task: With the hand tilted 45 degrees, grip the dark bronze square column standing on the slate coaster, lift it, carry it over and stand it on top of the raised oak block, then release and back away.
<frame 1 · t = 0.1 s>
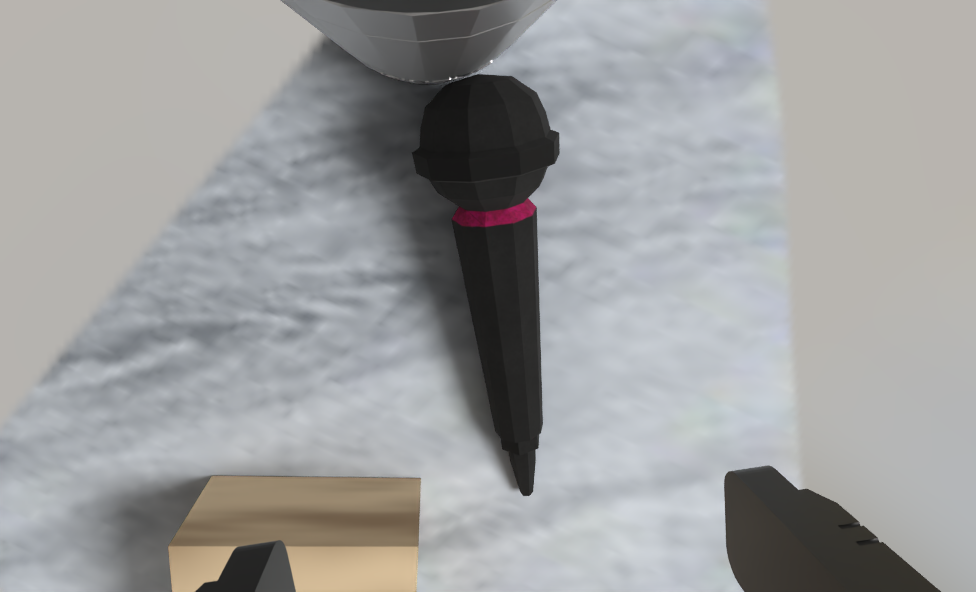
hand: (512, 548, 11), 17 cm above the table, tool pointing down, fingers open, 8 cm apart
rest block: (318, 562, 31), on the table
microphone: (486, 297, 28), on the table
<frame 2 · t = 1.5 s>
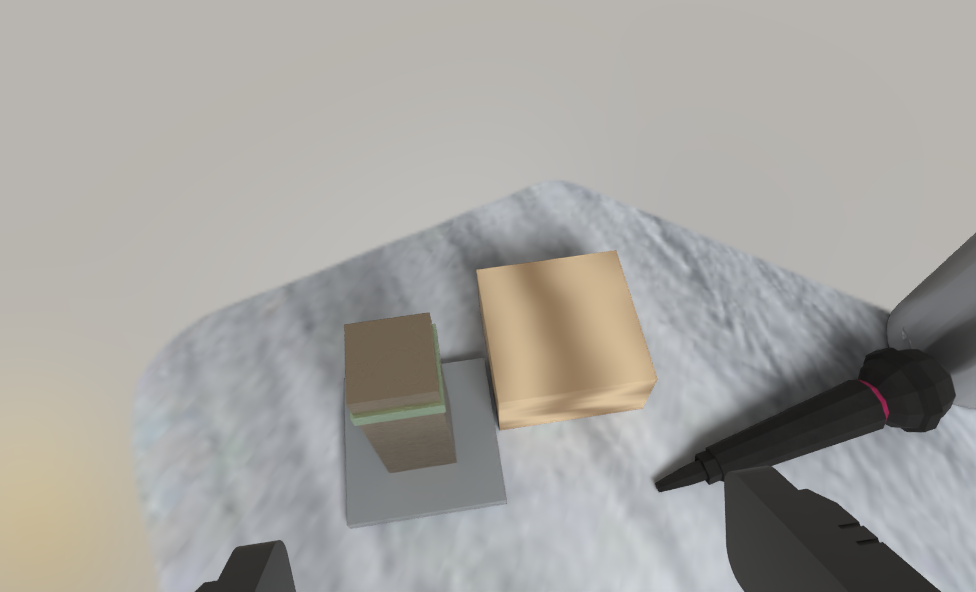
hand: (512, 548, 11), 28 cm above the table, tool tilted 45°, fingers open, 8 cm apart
column: (420, 435, 40), point 1 cm above the table, touching coaster
rest block: (556, 354, 44), on the table
coaster: (422, 440, 41), on the table
microphone: (786, 429, 41), on the table
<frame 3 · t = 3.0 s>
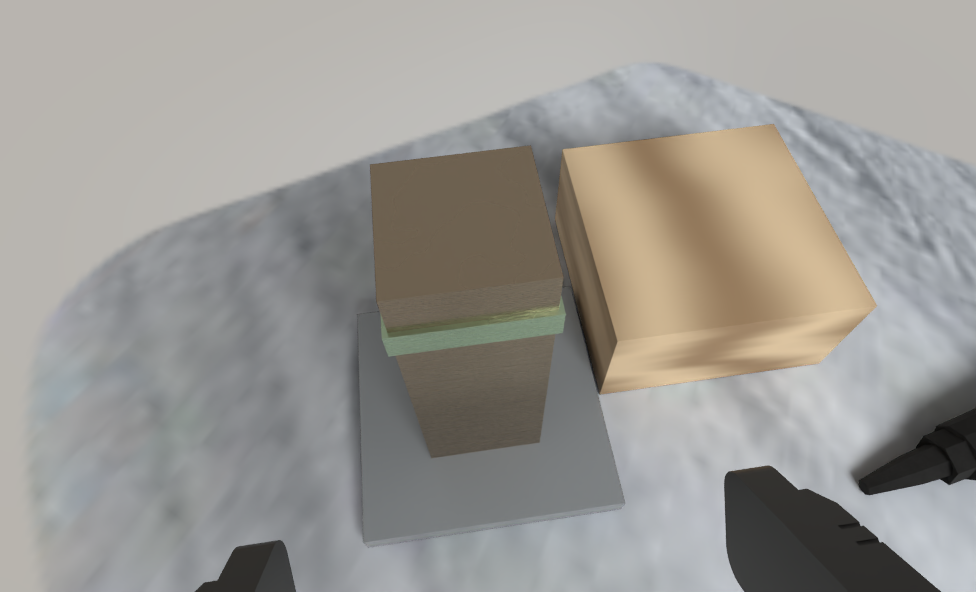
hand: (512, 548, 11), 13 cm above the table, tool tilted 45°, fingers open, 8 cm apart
column: (478, 399, 25), point 1 cm above the table, touching coaster
rest block: (676, 285, 29), on the table
coaster: (479, 408, 26), on the table
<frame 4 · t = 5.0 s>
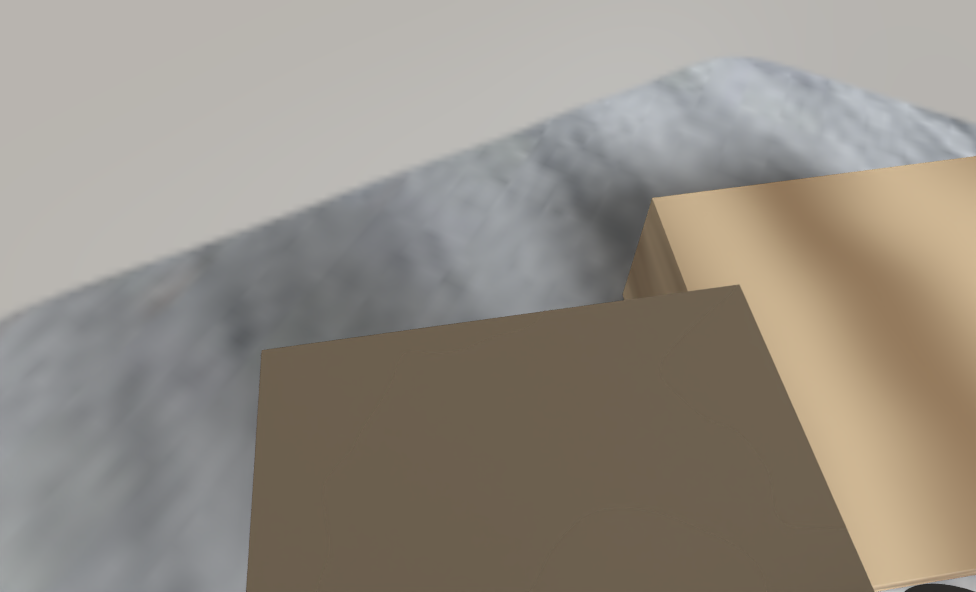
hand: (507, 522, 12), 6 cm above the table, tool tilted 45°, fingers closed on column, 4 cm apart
rest block: (824, 408, 18), on the table
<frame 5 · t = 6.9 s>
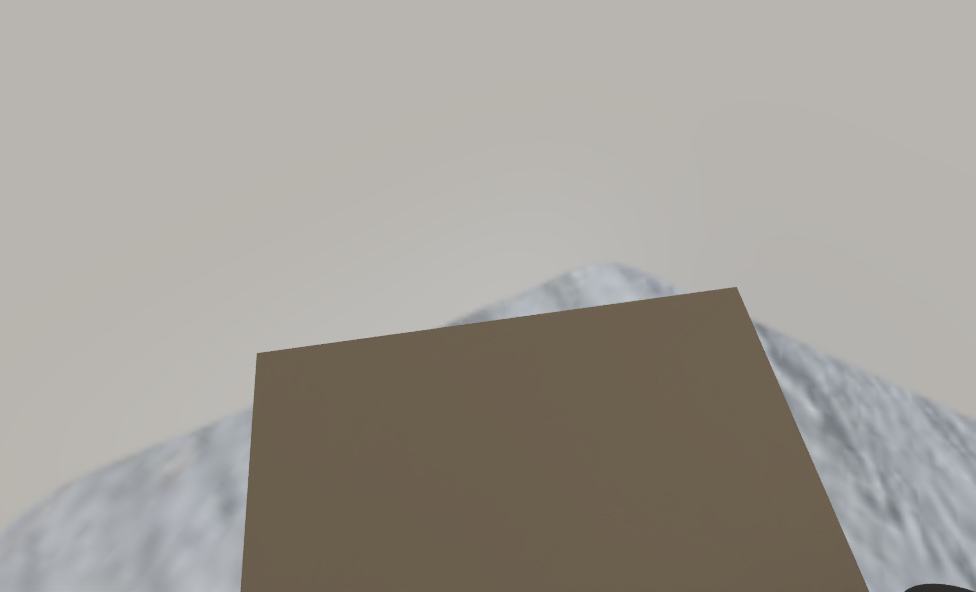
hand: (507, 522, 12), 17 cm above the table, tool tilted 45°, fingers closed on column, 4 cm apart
when the fingers open (11 cm above the table, at t = 9.1 s): column drops 1 cm, resting on rest block.
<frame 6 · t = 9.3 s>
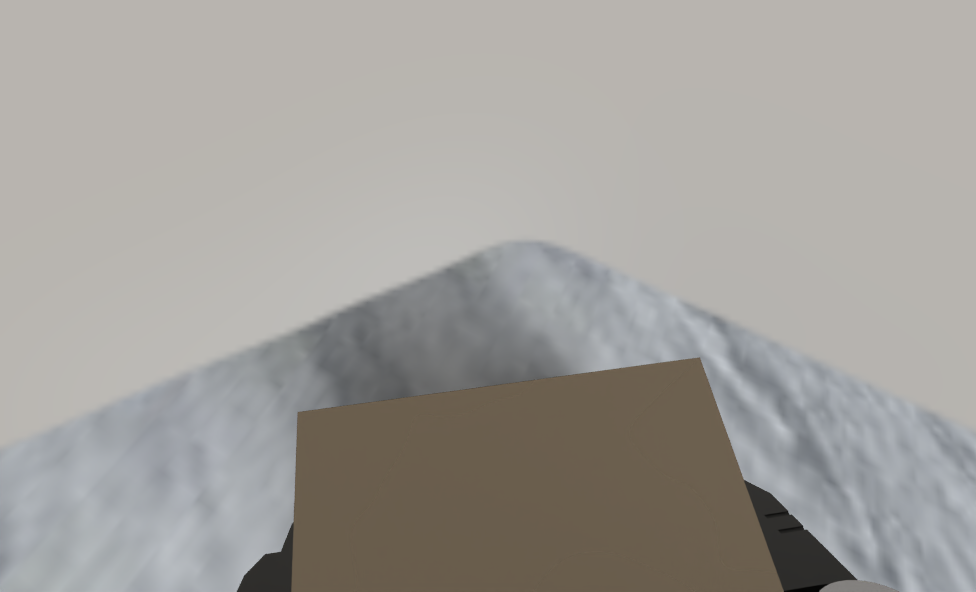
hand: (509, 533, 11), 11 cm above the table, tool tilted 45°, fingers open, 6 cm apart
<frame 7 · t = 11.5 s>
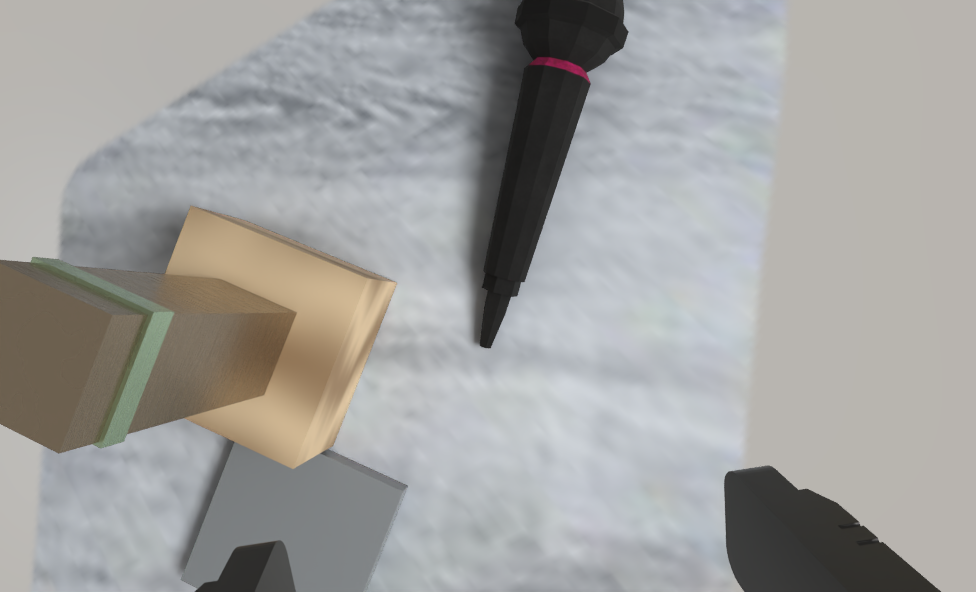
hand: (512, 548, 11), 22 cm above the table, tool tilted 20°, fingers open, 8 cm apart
column: (242, 336, 30), point 5 cm above the table, touching rest block
rest block: (287, 331, 35), on the table
coaster: (297, 530, 34), on the table
microphone: (525, 165, 34), on the table
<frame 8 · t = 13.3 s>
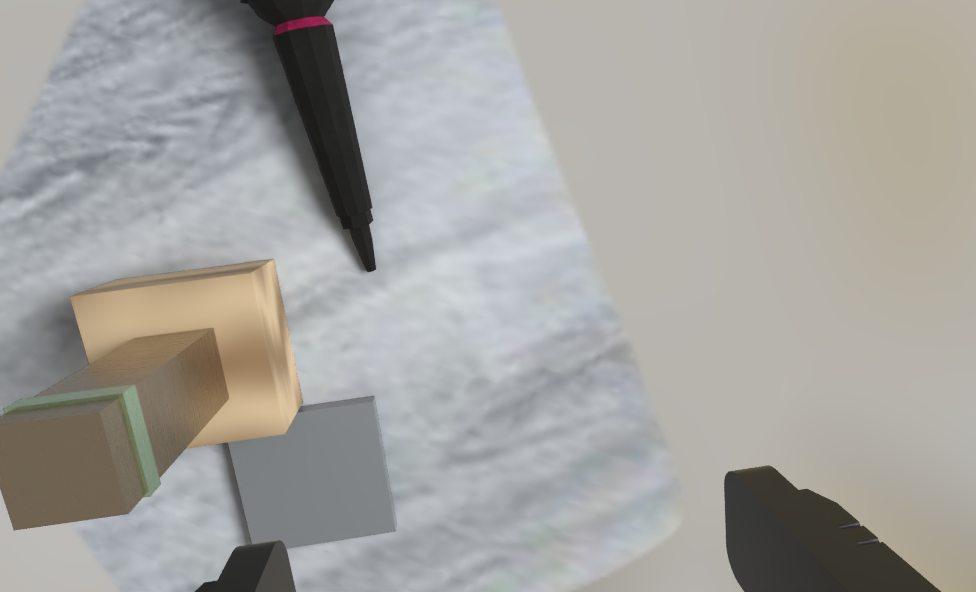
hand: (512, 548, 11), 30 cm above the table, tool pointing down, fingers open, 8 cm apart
column: (183, 368, 35), point 5 cm above the table, touching rest block
rest block: (212, 342, 40), on the table
coaster: (315, 471, 42), on the table
microphone: (320, 113, 38), on the table
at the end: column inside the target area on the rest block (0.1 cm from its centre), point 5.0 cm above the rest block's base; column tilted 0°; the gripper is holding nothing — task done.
